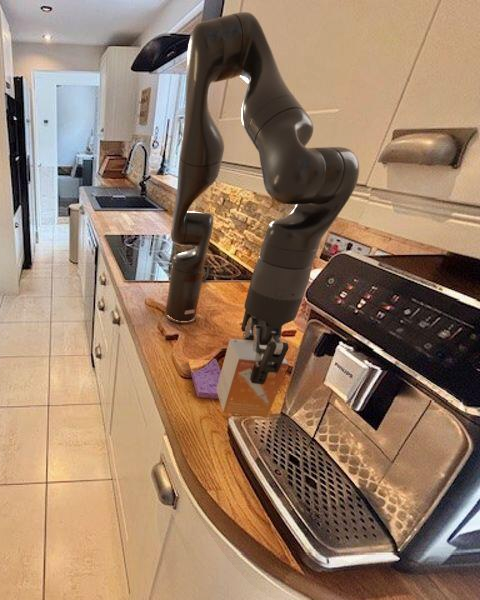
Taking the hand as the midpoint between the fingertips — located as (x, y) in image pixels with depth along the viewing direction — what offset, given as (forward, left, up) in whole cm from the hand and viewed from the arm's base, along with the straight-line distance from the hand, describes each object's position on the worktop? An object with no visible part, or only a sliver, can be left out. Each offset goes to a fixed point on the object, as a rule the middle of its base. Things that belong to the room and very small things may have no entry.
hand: (251, 368), depth 59 cm
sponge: (-14, -3, -16) cm, 21 cm away
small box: (0, 0, -9) cm, 9 cm away
